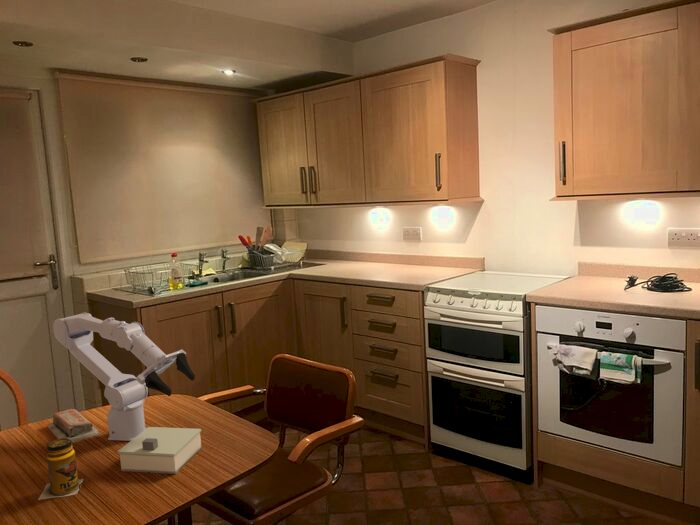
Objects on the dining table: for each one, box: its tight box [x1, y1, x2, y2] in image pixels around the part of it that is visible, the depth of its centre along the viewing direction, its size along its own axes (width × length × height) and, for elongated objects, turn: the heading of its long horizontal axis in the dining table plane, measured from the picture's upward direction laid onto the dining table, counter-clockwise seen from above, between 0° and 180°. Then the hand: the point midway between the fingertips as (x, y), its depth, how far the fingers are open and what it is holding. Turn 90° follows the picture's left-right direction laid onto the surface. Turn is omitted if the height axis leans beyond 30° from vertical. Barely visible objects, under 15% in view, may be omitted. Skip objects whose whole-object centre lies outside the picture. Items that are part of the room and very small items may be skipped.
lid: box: [117, 426, 202, 456], centre depth 150 cm, size 16×15×3 cm
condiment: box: [37, 438, 84, 501], centre depth 137 cm, size 7×8×12 cm
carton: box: [119, 432, 202, 475], centre depth 151 cm, size 15×14×4 cm
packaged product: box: [47, 408, 101, 444], centre depth 172 cm, size 18×5×10 cm
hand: (182, 385), depth 153 cm, fingers open, 7 cm apart
